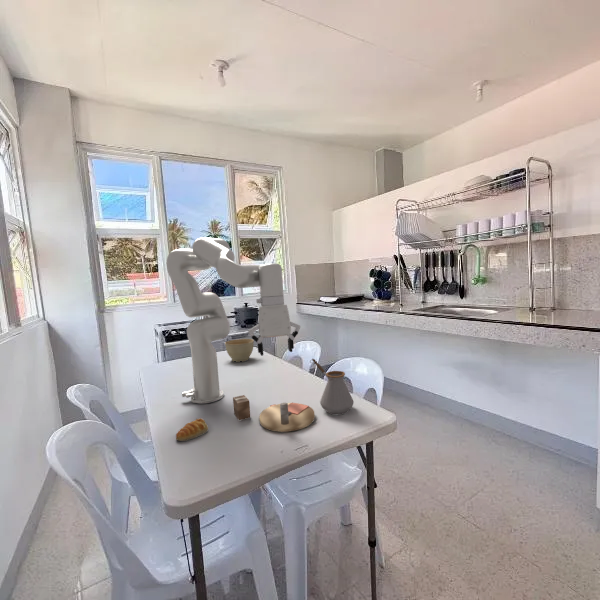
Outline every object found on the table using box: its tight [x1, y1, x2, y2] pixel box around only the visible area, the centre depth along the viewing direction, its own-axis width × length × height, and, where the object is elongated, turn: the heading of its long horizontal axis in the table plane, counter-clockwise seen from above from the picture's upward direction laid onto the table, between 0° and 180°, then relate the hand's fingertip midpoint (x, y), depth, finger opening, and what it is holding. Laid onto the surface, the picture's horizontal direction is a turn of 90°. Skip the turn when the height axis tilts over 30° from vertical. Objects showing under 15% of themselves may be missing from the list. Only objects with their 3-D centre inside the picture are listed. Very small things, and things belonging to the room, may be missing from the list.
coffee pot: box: [309, 358, 354, 416], centre depth 115 cm, size 21×12×15 cm, turn 28°
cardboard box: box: [232, 394, 251, 421], centre depth 111 cm, size 4×6×6 cm, turn 27°
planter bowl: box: [224, 338, 255, 363], centre depth 185 cm, size 16×16×11 cm
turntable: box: [259, 402, 315, 433], centre depth 106 cm, size 18×18×8 cm
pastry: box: [175, 418, 209, 442], centre depth 99 cm, size 9×7×4 cm
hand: (276, 352), depth 107 cm, fingers open, 9 cm apart
